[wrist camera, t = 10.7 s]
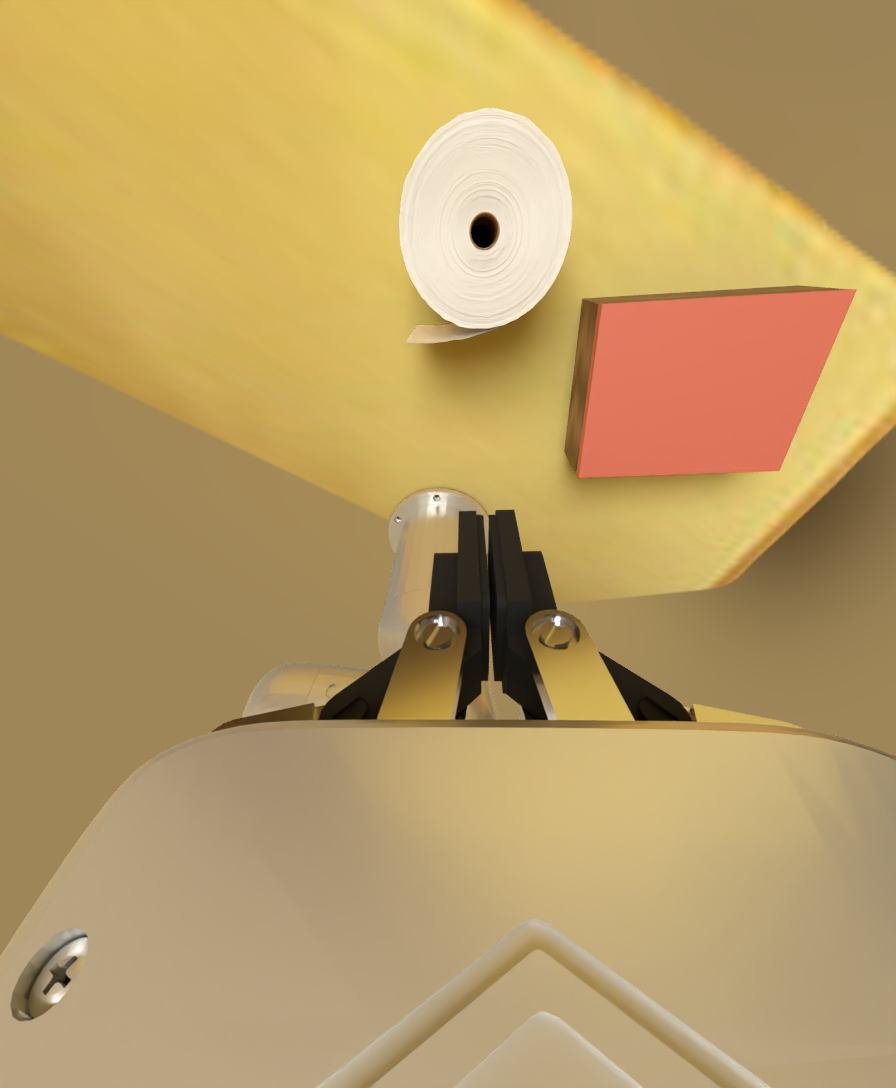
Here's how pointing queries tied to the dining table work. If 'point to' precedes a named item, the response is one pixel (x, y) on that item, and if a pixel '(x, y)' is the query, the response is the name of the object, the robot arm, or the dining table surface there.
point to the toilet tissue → (484, 222)
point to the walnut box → (587, 340)
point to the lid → (704, 381)
